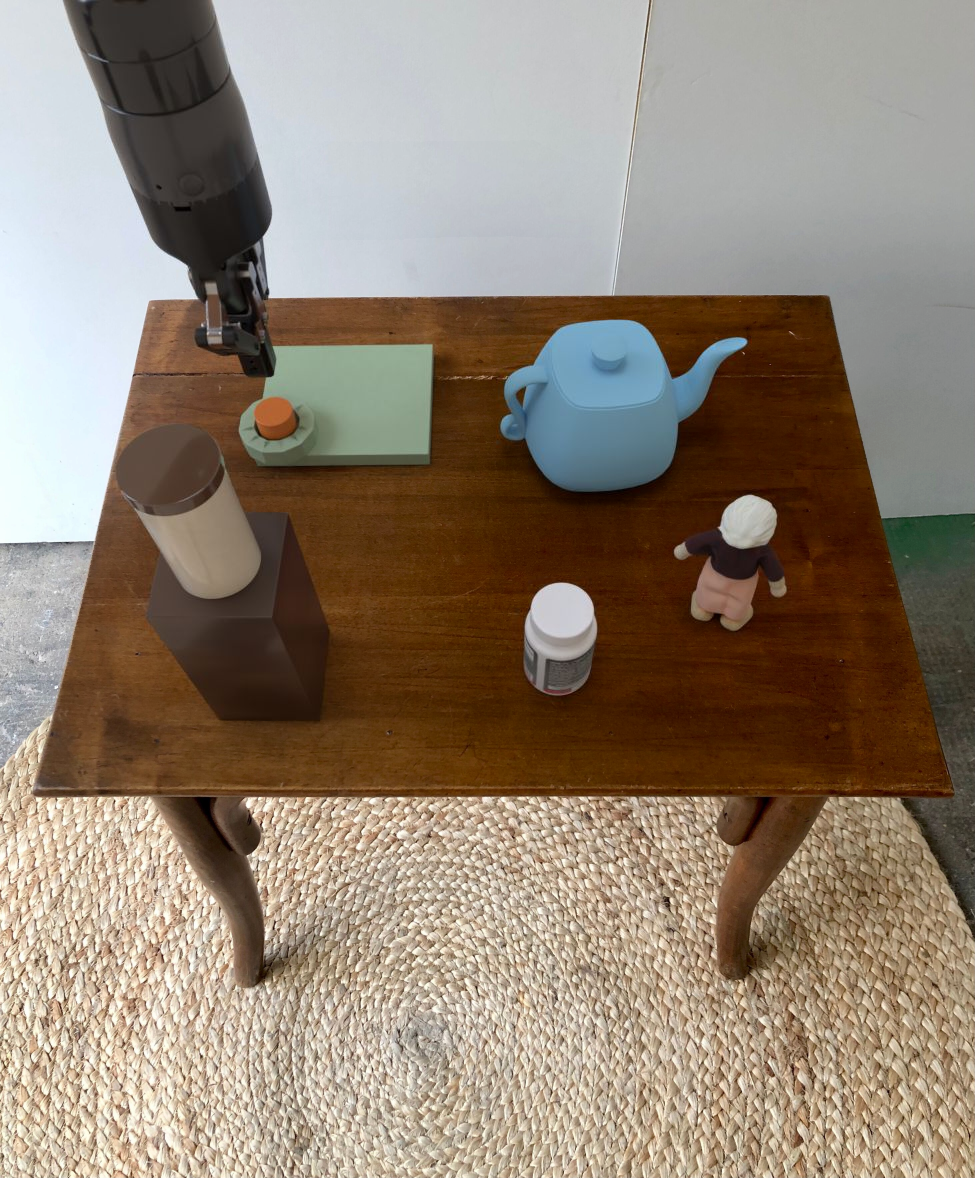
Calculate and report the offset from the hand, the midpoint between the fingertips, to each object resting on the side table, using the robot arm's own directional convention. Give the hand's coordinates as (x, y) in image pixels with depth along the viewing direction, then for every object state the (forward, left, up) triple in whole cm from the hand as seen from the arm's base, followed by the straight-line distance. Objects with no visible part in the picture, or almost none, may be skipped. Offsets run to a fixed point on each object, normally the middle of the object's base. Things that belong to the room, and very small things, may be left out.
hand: (261, 370), depth 66 cm
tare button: (0, 0, -6) cm, 6 cm away
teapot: (+20, +17, -9) cm, 28 cm away
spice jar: (+14, -15, +6) cm, 21 cm away
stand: (+14, -15, -9) cm, 22 cm away
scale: (+1, +6, -9) cm, 11 cm away
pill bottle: (+29, -2, -9) cm, 31 cm away
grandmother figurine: (+35, +9, -9) cm, 37 cm away
